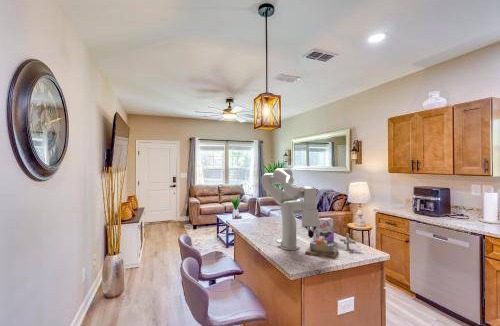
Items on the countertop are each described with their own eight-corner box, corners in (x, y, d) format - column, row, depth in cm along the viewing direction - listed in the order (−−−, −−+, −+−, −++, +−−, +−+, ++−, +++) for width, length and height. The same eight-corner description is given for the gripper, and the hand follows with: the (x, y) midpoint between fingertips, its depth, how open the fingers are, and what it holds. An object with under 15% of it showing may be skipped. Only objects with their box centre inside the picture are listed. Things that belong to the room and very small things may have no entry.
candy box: (316, 242, 183) (316, 219, 183) (313, 240, 189) (312, 218, 189) (334, 241, 186) (333, 219, 186) (330, 239, 191) (329, 217, 192)
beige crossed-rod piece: (343, 245, 176) (342, 231, 177) (357, 248, 170) (357, 233, 170) (337, 249, 169) (337, 234, 169) (353, 252, 162) (353, 236, 162)
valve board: (305, 254, 160) (305, 251, 160) (310, 248, 171) (310, 245, 171) (335, 258, 152) (335, 256, 152) (338, 252, 163) (338, 249, 163)
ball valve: (309, 251, 162) (309, 239, 162) (311, 248, 167) (311, 237, 167) (332, 254, 156) (332, 242, 156) (333, 251, 161) (333, 239, 161)
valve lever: (319, 239, 164) (319, 235, 164) (324, 239, 162) (324, 235, 162) (315, 244, 152) (315, 240, 152) (320, 245, 150) (320, 241, 151)
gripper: (296, 207, 156) (297, 237, 155) (321, 208, 149) (322, 240, 149) (300, 205, 163) (300, 234, 162) (323, 207, 156) (324, 237, 155)
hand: (311, 237), depth 155 cm, fingers closed
